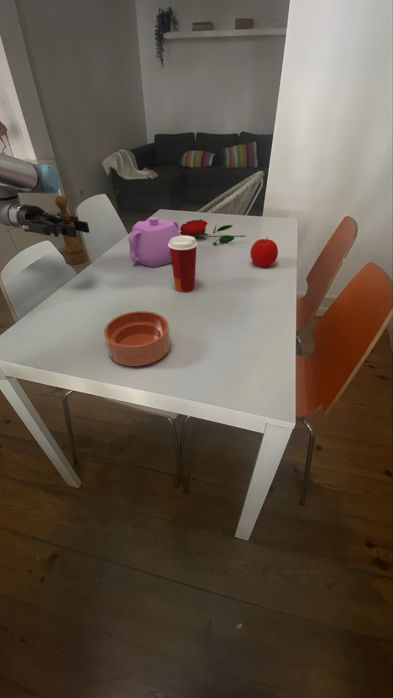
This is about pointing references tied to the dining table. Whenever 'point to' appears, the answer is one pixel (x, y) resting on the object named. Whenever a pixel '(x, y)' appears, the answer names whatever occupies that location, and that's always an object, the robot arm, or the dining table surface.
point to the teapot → (152, 241)
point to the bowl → (137, 338)
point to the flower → (198, 228)
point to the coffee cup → (183, 262)
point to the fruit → (264, 252)
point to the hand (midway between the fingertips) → (81, 229)
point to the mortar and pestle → (74, 250)
